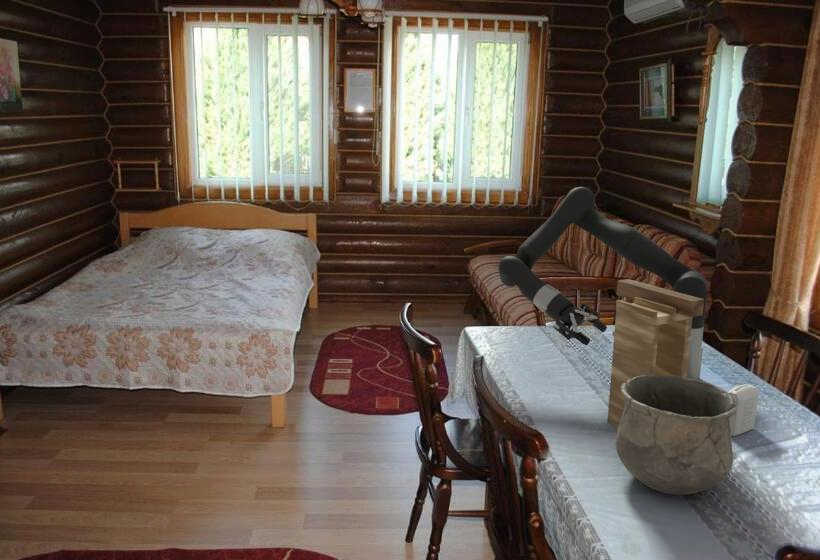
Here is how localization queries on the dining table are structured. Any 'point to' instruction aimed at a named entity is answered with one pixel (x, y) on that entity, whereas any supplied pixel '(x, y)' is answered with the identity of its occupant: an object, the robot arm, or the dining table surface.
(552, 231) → the robot arm
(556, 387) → the dining table surface
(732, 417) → the photo printer
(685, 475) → the pot
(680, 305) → the block
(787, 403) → the dining table surface
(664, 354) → the rack
